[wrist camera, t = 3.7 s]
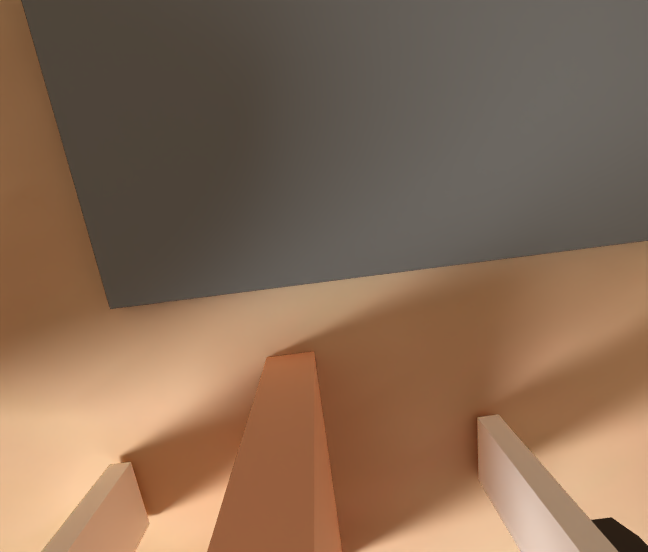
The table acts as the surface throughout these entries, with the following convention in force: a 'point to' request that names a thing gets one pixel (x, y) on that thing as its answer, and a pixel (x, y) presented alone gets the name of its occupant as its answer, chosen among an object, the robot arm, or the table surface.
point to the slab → (281, 469)
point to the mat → (343, 135)
